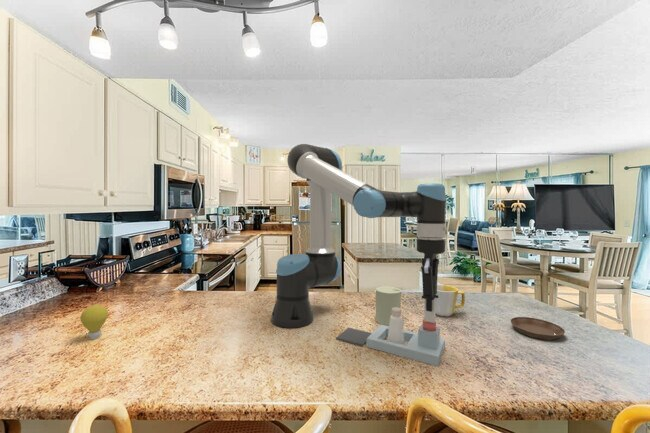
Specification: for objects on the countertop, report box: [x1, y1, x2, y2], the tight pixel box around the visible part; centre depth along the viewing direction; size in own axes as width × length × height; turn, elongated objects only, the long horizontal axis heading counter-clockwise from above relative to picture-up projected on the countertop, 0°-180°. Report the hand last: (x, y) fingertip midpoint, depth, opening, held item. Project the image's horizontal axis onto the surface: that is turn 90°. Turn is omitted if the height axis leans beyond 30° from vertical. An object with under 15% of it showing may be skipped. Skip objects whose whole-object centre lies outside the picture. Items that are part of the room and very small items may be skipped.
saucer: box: [510, 316, 566, 341], centre depth 97 cm, size 15×15×3 cm
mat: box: [335, 327, 373, 347], centre depth 91 cm, size 9×9×1 cm
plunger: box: [422, 319, 437, 331], centre depth 82 cm, size 4×4×2 cm
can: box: [374, 285, 402, 326], centre depth 105 cm, size 9×9×12 cm
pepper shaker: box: [386, 307, 406, 345], centre depth 87 cm, size 5×5×11 cm
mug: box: [435, 283, 466, 317], centre depth 113 cm, size 14×10×10 cm
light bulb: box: [79, 304, 109, 340], centre depth 89 cm, size 7×7×10 cm
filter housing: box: [366, 323, 446, 367], centre depth 85 cm, size 20×12×7 cm, turn 60°
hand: (429, 321), depth 82 cm, fingers closed
